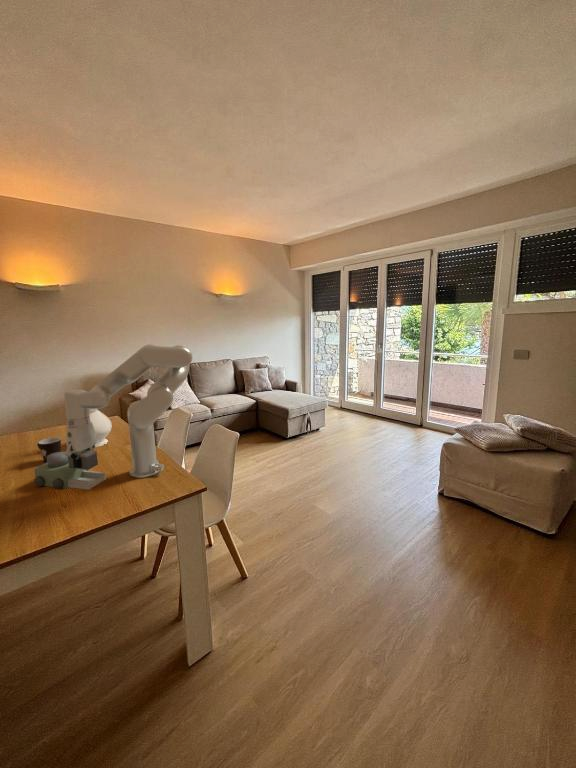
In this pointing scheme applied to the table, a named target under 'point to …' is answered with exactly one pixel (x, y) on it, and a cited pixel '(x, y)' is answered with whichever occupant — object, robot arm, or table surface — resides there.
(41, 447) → the coffee mug
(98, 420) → the decorative vase
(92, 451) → the gray rectangular block
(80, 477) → the green toy tractor
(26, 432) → the table surface
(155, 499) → the table surface
